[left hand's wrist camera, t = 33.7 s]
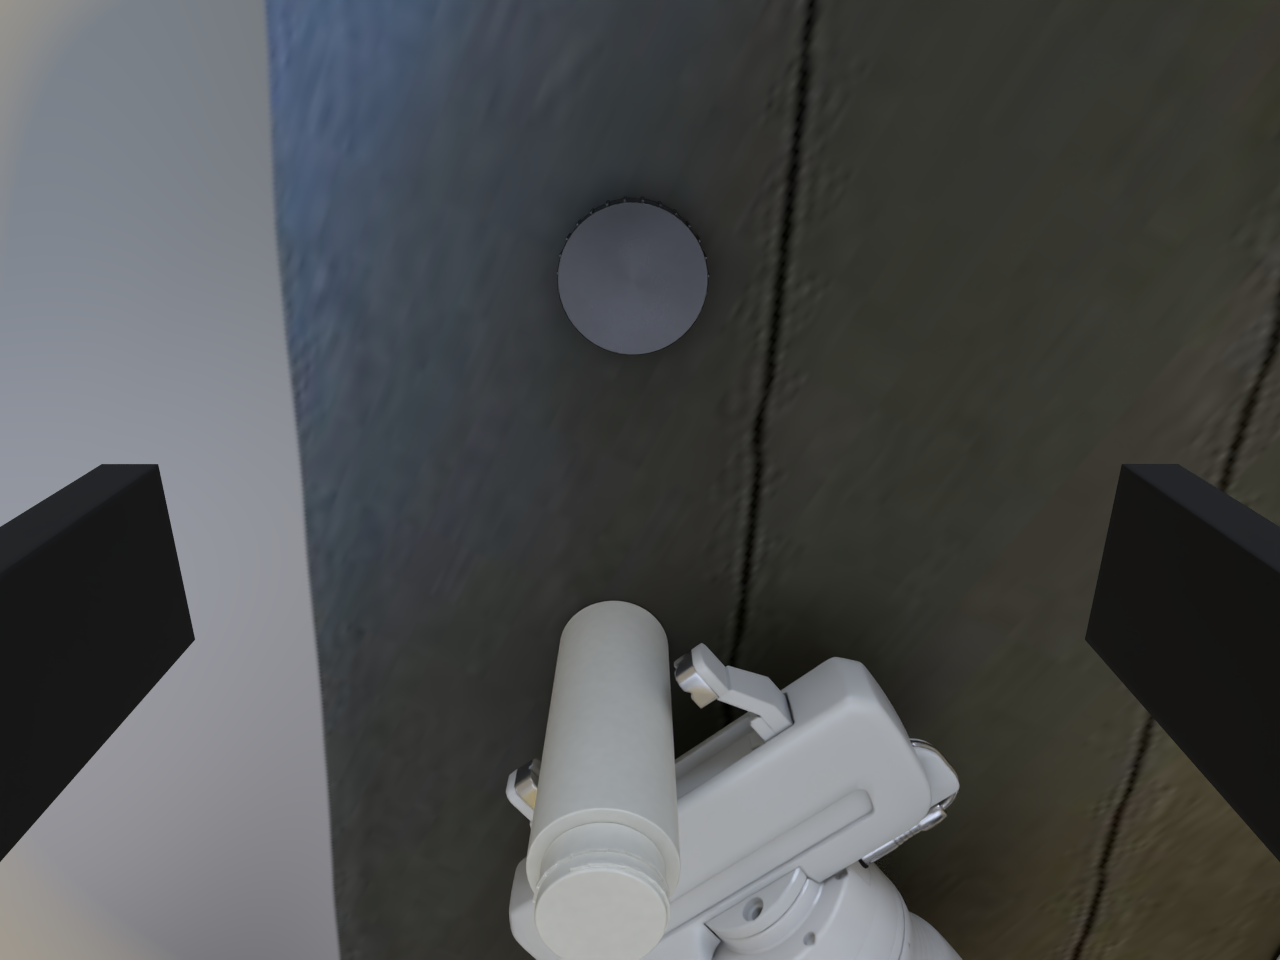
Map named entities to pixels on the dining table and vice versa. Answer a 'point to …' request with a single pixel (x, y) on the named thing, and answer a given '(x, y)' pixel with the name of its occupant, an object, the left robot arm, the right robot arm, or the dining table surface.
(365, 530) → the dining table surface
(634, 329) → the lid
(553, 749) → the jar
